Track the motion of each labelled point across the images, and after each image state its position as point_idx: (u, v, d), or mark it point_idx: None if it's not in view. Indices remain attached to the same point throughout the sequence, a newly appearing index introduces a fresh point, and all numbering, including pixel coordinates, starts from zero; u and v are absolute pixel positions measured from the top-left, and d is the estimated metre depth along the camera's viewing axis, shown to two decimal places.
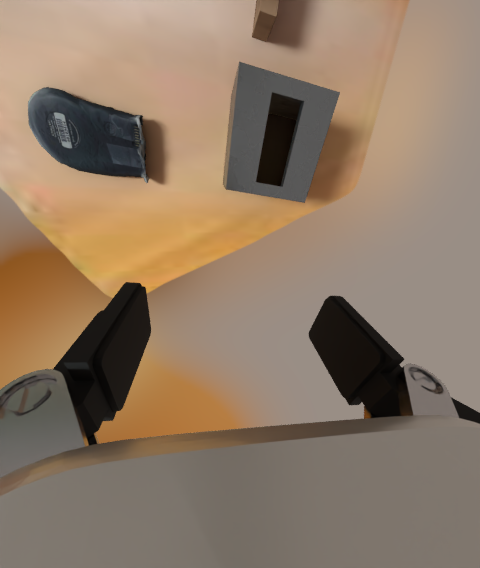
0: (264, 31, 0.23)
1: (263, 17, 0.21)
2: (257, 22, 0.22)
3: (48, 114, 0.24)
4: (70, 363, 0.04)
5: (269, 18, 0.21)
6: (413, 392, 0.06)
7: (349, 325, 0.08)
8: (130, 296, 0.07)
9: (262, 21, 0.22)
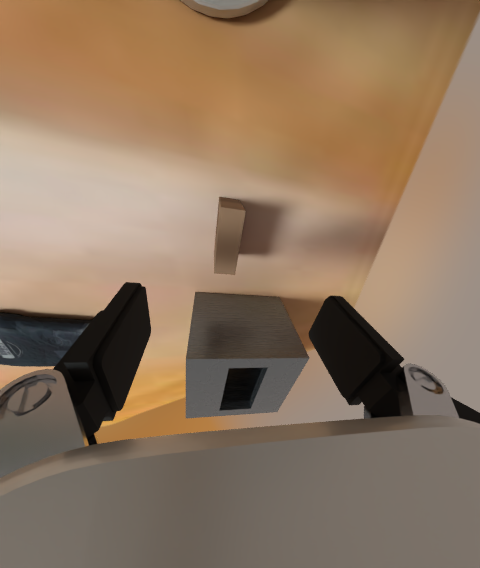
0: None
1: None
2: None
3: None
4: (70, 363, 0.04)
5: None
6: (413, 392, 0.06)
7: (349, 325, 0.08)
8: (130, 296, 0.07)
9: None
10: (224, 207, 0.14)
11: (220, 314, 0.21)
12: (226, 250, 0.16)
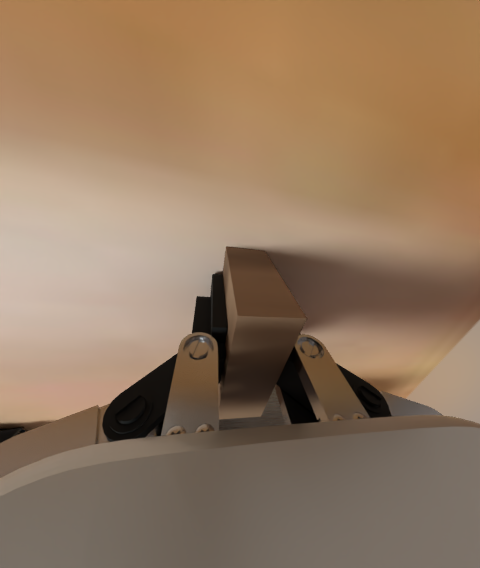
0: None
1: None
2: None
3: None
4: (215, 328, 0.06)
5: None
6: (309, 370, 0.06)
7: None
8: (222, 284, 0.09)
9: None
10: (247, 312, 0.05)
11: None
12: (246, 387, 0.07)
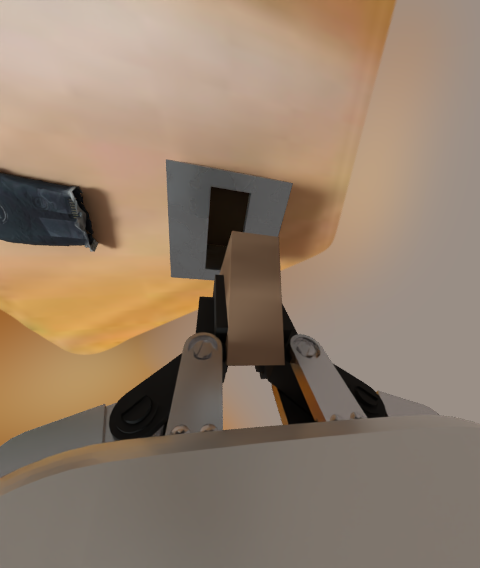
0: None
1: None
2: None
3: None
4: (219, 328, 0.06)
5: None
6: (306, 370, 0.06)
7: None
8: None
9: None
10: (236, 359, 0.06)
11: (205, 166, 0.21)
12: None
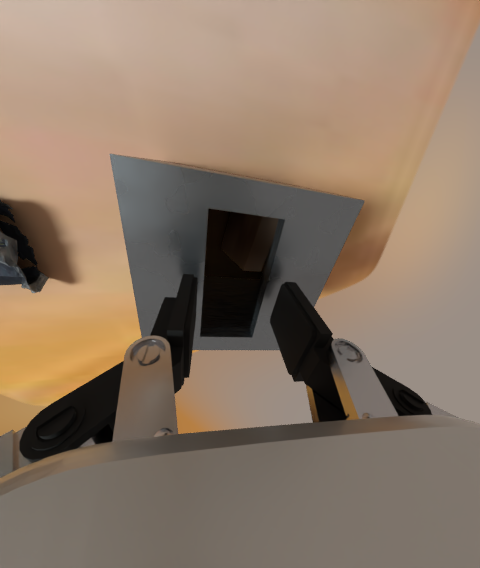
0: None
1: None
2: None
3: None
4: (170, 331, 0.06)
5: None
6: (344, 370, 0.06)
7: (294, 307, 0.09)
8: (191, 284, 0.08)
9: None
10: None
11: (200, 168, 0.13)
12: (260, 245, 0.15)
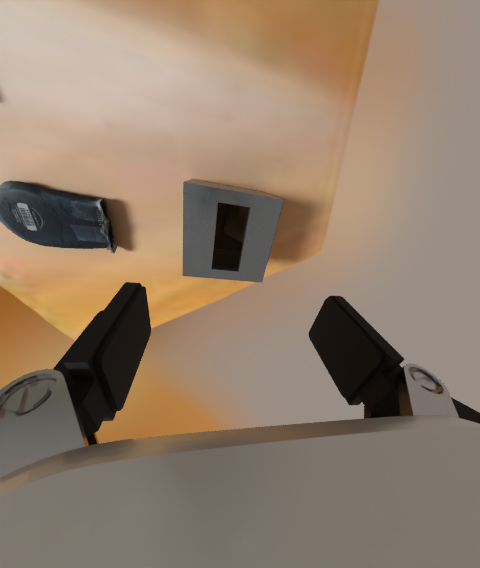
0: None
1: None
2: (236, 239, 0.31)
3: (11, 205, 0.26)
4: (70, 363, 0.04)
5: None
6: (413, 392, 0.06)
7: (349, 325, 0.08)
8: (130, 296, 0.07)
9: None
10: None
11: (212, 184, 0.26)
12: None
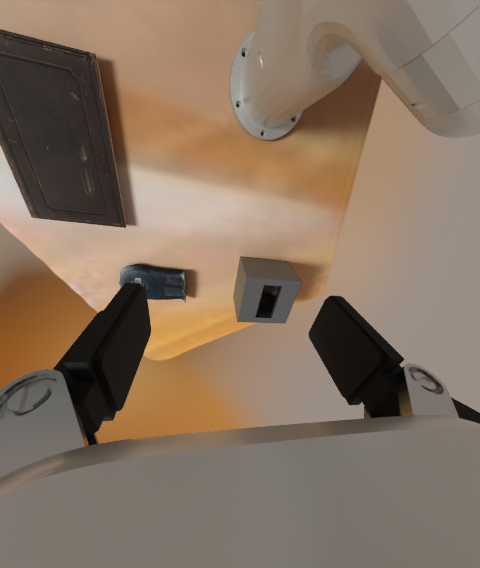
0: None
1: None
2: None
3: (131, 279, 0.41)
4: (70, 363, 0.04)
5: None
6: (413, 392, 0.06)
7: (349, 325, 0.08)
8: (130, 296, 0.07)
9: None
10: None
11: (256, 265, 0.41)
12: None
